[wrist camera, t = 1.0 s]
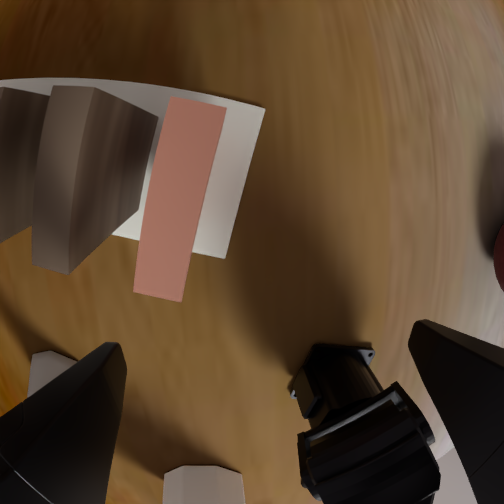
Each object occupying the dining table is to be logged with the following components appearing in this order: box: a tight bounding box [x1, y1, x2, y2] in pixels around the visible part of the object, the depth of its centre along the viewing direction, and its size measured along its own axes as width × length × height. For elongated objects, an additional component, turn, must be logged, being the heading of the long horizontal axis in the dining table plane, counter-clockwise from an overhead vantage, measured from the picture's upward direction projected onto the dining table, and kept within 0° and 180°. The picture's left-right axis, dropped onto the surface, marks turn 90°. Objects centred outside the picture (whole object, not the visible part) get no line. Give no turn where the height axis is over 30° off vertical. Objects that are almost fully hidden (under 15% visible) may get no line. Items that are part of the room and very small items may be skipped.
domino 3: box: [133, 96, 227, 302], centre depth 13 cm, size 2×6×10 cm, turn 165°
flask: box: [27, 351, 77, 398], centre depth 18 cm, size 7×7×10 cm
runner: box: [0, 78, 265, 259], centre depth 16 cm, size 22×10×1 cm, turn 75°
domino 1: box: [0, 87, 50, 243], centre depth 11 cm, size 2×6×10 cm, turn 165°
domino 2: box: [32, 85, 159, 275], centre depth 12 cm, size 2×6×10 cm, turn 164°
